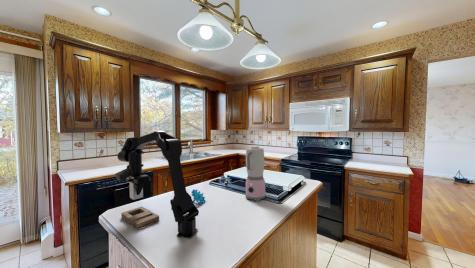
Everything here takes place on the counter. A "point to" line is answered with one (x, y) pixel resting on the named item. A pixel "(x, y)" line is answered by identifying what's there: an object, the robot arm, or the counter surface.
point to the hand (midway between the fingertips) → (136, 193)
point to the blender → (255, 173)
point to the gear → (198, 196)
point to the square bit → (134, 191)
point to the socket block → (140, 217)
